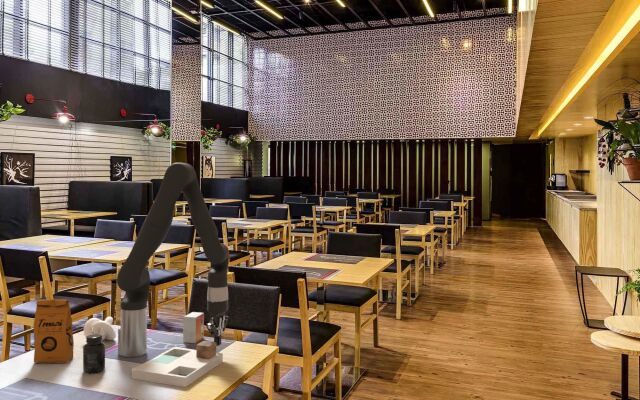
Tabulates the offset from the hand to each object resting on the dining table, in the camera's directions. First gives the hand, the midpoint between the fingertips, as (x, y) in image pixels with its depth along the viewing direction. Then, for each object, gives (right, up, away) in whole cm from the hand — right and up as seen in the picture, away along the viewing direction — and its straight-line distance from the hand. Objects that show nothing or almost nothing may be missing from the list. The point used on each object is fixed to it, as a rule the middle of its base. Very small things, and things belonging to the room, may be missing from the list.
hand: (217, 345), depth 185 cm
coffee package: (-57, -4, -6) cm, 57 cm away
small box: (-14, -4, +20) cm, 25 cm away
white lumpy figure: (-50, -4, +17) cm, 52 cm away
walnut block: (-3, -2, -7) cm, 8 cm away
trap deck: (-11, -5, -12) cm, 17 cm away
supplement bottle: (-39, -5, -15) cm, 42 cm away
